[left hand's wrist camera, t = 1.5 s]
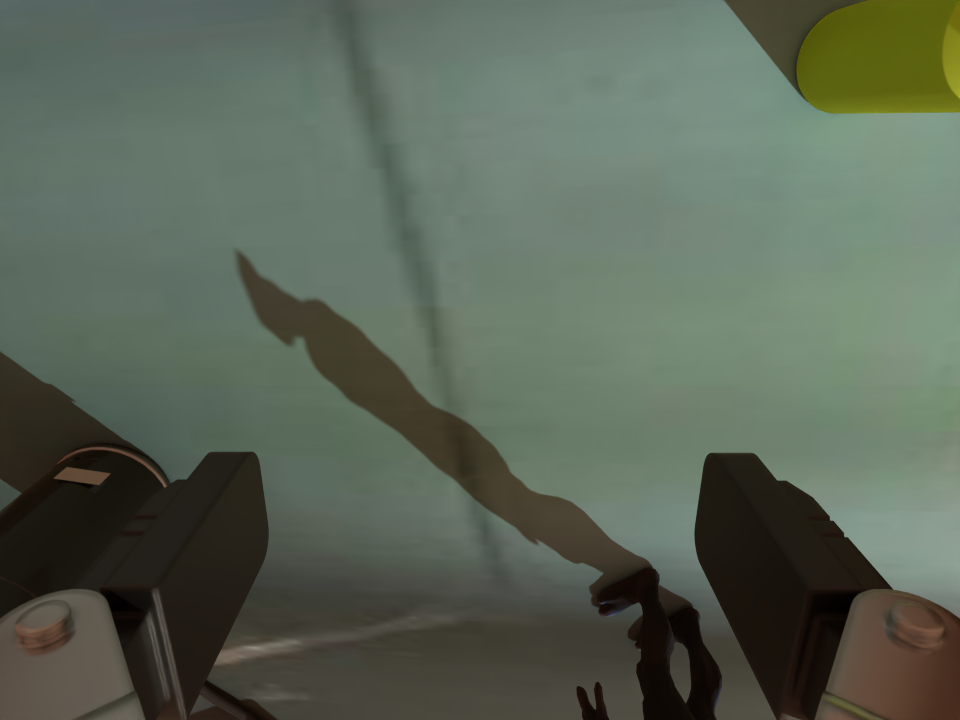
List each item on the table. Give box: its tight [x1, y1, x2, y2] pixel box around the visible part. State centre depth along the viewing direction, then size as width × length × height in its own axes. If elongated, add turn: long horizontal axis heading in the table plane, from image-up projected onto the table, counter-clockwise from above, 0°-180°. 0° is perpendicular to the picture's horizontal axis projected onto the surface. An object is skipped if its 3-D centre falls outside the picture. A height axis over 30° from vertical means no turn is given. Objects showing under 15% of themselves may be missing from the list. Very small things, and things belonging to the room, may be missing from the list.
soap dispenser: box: [796, 0, 960, 113], centre depth 29 cm, size 6×7×20 cm
